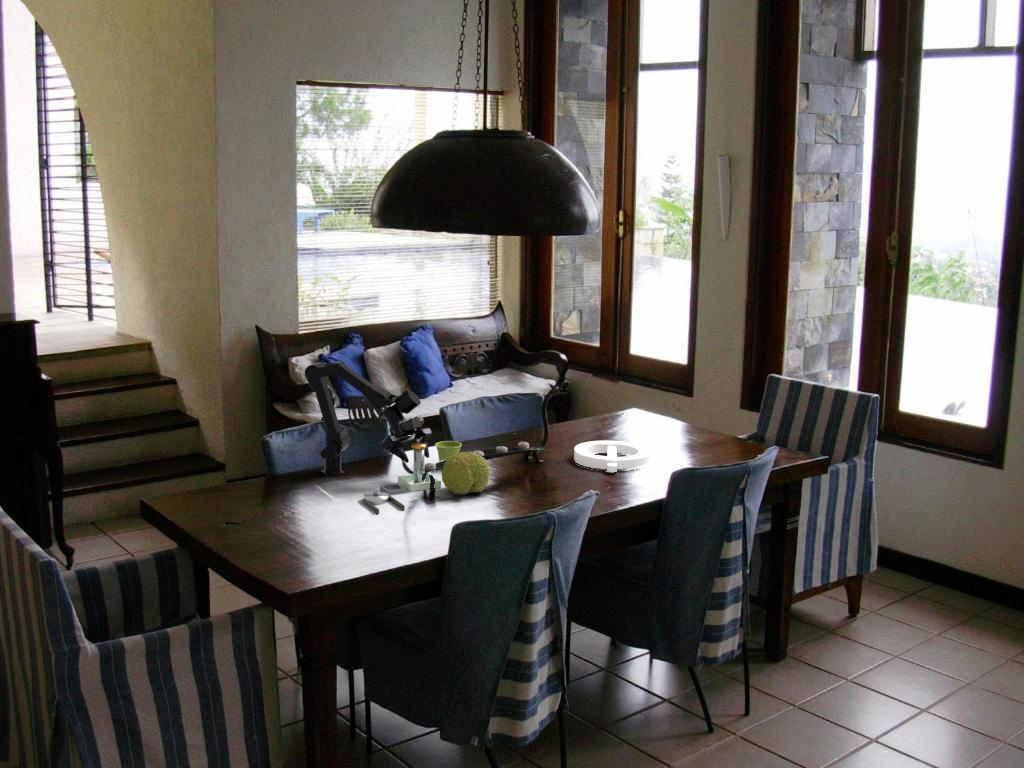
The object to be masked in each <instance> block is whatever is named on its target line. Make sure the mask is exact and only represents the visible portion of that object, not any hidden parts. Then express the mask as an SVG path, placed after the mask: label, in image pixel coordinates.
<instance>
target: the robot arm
mask: <svg viewBox="0 0 1024 768" xmlns="http://www.w3.org/2000/svg"><path fill="white" fill-rule="evenodd" d="M332 375H336V376H337V377H339V378H341V380H343V381H344V382H346V383H347V384H349V386H351V387H352V388H354V389H355V390H356V391H358V392H359V393H361V394H362V395H363V396H364V398H365V400H366V401H367V402H368V403H369V404H370V406H372V407H373V408H374V409H376V410H379V414H378V416H377V418H378V419H386V422H387V423H388V425H389V427H390V429H389V432H390V433H393V434H389V435H387V436H386V437H385V438H384V439H383V441H382V442H381V446H380V447H381V448H382V450H383V451H384V452H385V451H386V452H387V453H391V454H392V455H394V456H395V457H397V458H399V459H400V460H401V461H403V462H404V463H406V464H407V463H409V462H410V461H409V457H408V456H407V453H406V451H405V449H404V448H403V443H406V442H410V441H411V442H412V441H414V443H425V444H426V448H424V458H426V459H429V458H430V452H429V444H428V443H429V442H428V441H429V439H430V438H431V436H432V434H433V432H432V430H431V428H430V427H424V428H422V427H423V425H424V424H425V421H424V420H425V419H424V418H423V416H422V415H416V416H414V417H413V418H412V419H409V418H405V416H404V414H406V415H408V414H410V413H411V412H412V411H414V410H415V409H416V408H417V407H419V406H420V405H421V399H420V397H419V396H418V394H416V393H415V392H414V391H411V390H410V389H409V388H407V389H405V390H404V391H403V392H402V393H401V394H400V395H396V394H393V393H391V392H390V391H389V390H387V389H385V388H384V387H381V386H379V385H375V384H373V383H371V382H370V381H368V380H367V379H366V378H364V377H362V376H361V375H360V374H358V372H356V371H354V370H353V369H352V368H350V367H349V366H348V365H346V364H345V362H343V361H340V360H339V361H335V362H328V363H323V362H321V361H317V362H315V363H312V364H309V365H308V366H307V367H305V369H304V376H305V379H306V381H307V384H308V385H310V387H311V389H313V390H314V393H315V397H316V399H317V402H318V406H319V409H320V413H321V416H322V420H323V422H324V426H325V431H326V432H325V444H326V447H324V448H323V449H322V450H321V451H320V453H319V454H320V456H321V459H324V469H321V472H322V474H324V475H325V476H327V477H328V476H337V475H345V471H343V470H342V455H343V454H344V453H345V450H346V449H348V447H349V446H350V441H351V438H350V436H349V433H348V429H347V428H344V429H343V427H342V426H340V422H339V420H338V419H339V418H338V416H337V413H336V409H335V406H334V403H333V399H332V396H331V393H330V390H329V386H328V385H329V378H330V377H329V376H332ZM385 407H386V408H385ZM383 408H385V409H383ZM382 409H383V410H382ZM417 428H420V429H418V431H417ZM415 432H416V433H415Z"/></svg>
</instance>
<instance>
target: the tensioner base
mask: <svg viewBox="0 0 1024 768" xmlns="http://www.w3.org/2000/svg"><path fill="white" fill-rule="evenodd" d="M375 490H376V492H384V493H387V494H389V495H390V496H391V497H392V496H396V495H398V496H399V495H403V494H411V492H410V491H409V490H407V489H406V488H404V487H403V486H401V485H400V484H398V483H392V484H385V485H379V488H375Z"/></svg>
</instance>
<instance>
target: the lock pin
mask: <svg viewBox="0 0 1024 768" xmlns="http://www.w3.org/2000/svg"><path fill="white" fill-rule="evenodd" d="M411 448H412V449H413V474H414V484H416V483H424V481H423V482H422V477H423V470H424V471H425V455H424V448H426V444H425V443H415V442H414V443H412V444H411Z"/></svg>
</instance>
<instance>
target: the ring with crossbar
mask: <svg viewBox="0 0 1024 768" xmlns="http://www.w3.org/2000/svg"><path fill="white" fill-rule="evenodd" d="M598 453H607V455H595V454H598ZM617 453H625V454H630V455H632V456H627V457H626V456H618V455H617ZM573 455H574V456H573V461H574V460H575V462H576V463H578V464H580V465H583V466H585V467H586V466H587V467H591V468H598V469H599V468H600V469H607V471H606V473H614V472H617V469H623V468H633V467H637V466H642V465H644V464H647V463H648V462H649V461H650V462H651V450H650V449H649V448H647V447H646V446H644V445H642V444H638V443H634V442H627V441H622V440H621V441H620V440H592V441H586V442H581V443H578V444H577V445H575V446H574V452H573ZM575 462H574V463H575ZM576 463H575V464H576ZM578 464H577V465H578ZM580 465H579V466H580ZM585 467H584V468H585ZM617 473H618V472H617Z"/></svg>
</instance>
